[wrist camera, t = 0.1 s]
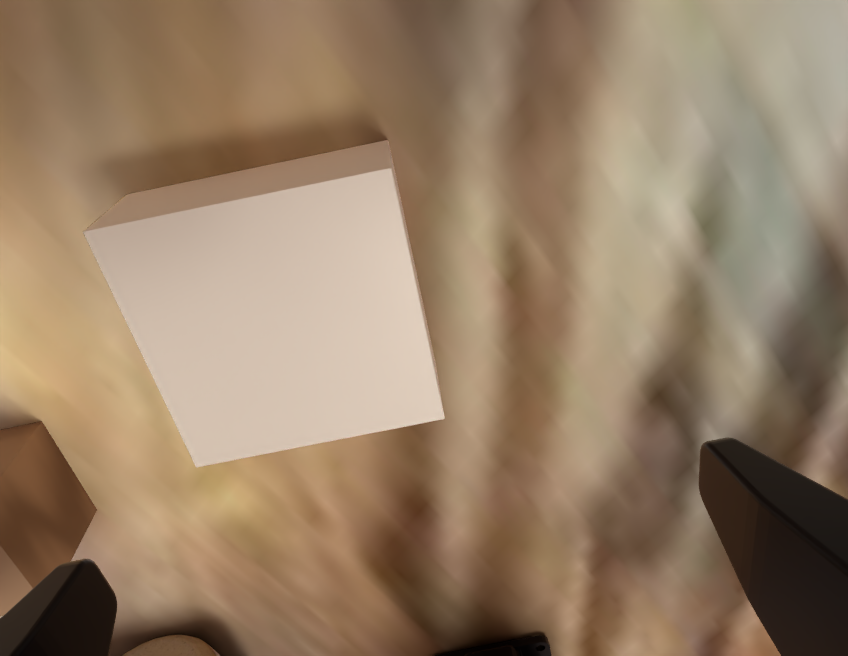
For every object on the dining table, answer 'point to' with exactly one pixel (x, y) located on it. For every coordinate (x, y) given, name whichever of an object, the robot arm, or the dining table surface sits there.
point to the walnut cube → (36, 510)
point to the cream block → (275, 303)
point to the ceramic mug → (173, 647)
